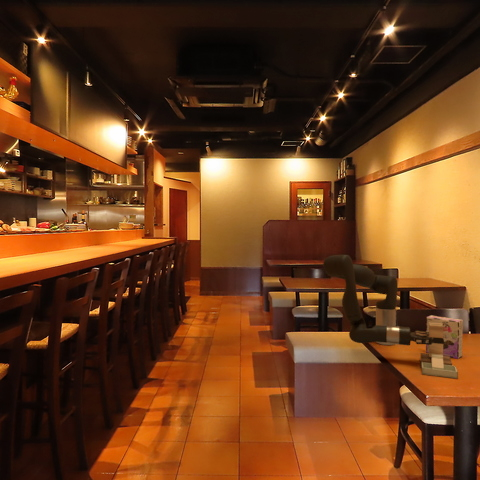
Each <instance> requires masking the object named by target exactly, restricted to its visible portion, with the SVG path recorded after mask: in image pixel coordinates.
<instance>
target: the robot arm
mask: <svg viewBox="0 0 480 480" xmlns="http://www.w3.org/2000/svg"><path fill="white" fill-rule="evenodd" d="M322 265H323V270H324V272H325V274H327V276H330V277H334V278H339V279H343V280H344V282H345V288H344V289H345V290H344V292H343V295H342V298H341V305H342V310H343V313H344V316H345V319H346V320H347V321H348V323H349V327H350V328H349V332H348V336H349V339H350V340H351V341H352V342H354V343H357V344H368V343H377V344H379V345H383V346H394V345H400V346H401V345H402V346H411V342H414V343H415V344H416V345H426V344H427V345H432V344H433V343H437V344H444V339H443V338H435V337H429V332H426V331H423V330H415V331H413V332H412V331H411V328H410V327H409V326H399V325H397V323H396V320H397V319H396V318H397V311H396V310H397V302H398V301H397V300H398V287H399V286H398V285H399V283H398V280H397V278H396V277H395V276H392V275H391V276H390V275H383V274H382V275H381V274H380V275H379V274H375V272H374V271H373V270H372V269H371V268H369V267H367V266H366V265H362V264H356V263H353V260H352V258H351V256H350V255H349V254H336V255H329V256H327V257H326V258H325V259H324V260H323V264H322ZM356 285H357V286H359V287H362V288H367V289H369V290H371V291H373V292H375V293H376V294H379V295H386V296H385V298H384V299H383V300H379V301H376V303H375V325H374V326H372V327H371V328H367V327H368V326H367V324H366V321H365V318H364V317H363V314H362V310H361V306H360V302H359V299H358V294H357V286H356ZM428 340H429V341H428Z"/></svg>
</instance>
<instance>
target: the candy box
mask: <svg viewBox="0 0 480 480" xmlns="http://www.w3.org/2000/svg"><path fill="white" fill-rule="evenodd" d="M463 322H464V321H463V319H457V318H451V317H444V316H437V315H429V316H426V327H425V328H426V330H425V332H429V323H440V324H443V339H444V344H443V356H450V359H451V358H453V359H455V360H459V359H461V358H462V357H463V337H464V336H463V331H464V329H463V326H464V325H463V324H464V323H463ZM428 341H429V340H428ZM425 353H426V354H429V345H427V344H425Z"/></svg>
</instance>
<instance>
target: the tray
mask: <svg viewBox="0 0 480 480" xmlns="http://www.w3.org/2000/svg"><path fill="white" fill-rule="evenodd" d="M443 365H444V364H443ZM421 374H422V376H423V375H425V376H433V377H439V378H440V377H441V378H448V379H458V377H459V375H458V374H459V371H458V370H457V367H456V365H453V364H452V365H444V370H439V369H432V363H426V362H422V368H421Z"/></svg>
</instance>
